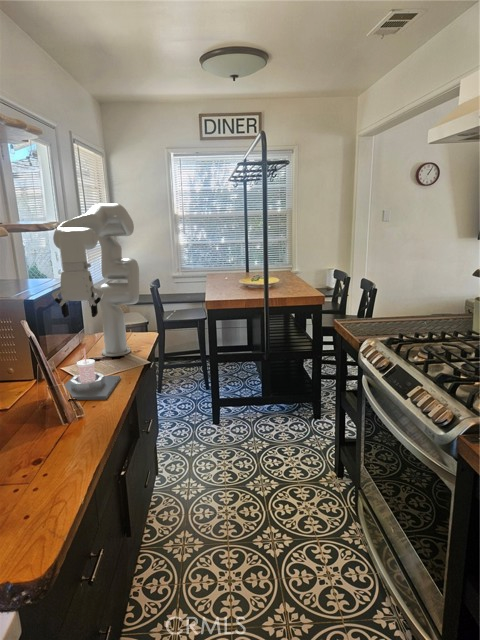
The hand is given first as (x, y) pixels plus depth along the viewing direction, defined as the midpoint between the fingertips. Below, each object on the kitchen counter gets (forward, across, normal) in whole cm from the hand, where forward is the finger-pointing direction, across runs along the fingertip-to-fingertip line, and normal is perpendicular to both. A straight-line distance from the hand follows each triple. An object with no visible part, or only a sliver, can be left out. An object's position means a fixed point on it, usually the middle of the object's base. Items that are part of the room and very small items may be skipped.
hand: (80, 316), depth 141 cm
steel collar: (+25, -1, +2) cm, 25 cm away
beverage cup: (+25, -1, +2) cm, 25 cm away
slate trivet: (+26, -1, +2) cm, 26 cm away
